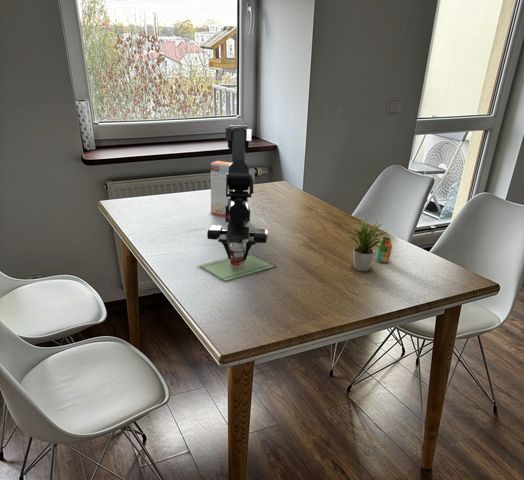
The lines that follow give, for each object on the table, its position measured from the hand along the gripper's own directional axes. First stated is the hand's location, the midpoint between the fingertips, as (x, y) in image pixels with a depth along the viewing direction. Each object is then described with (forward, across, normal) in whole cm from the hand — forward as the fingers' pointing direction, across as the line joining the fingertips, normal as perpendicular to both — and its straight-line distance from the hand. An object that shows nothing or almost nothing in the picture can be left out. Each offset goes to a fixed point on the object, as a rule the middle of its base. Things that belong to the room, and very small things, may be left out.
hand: (237, 259), depth 168 cm
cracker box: (+3, -11, +54) cm, 55 cm away
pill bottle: (+2, 0, 0) cm, 2 cm away
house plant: (+3, +41, +6) cm, 41 cm away
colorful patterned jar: (+2, +49, +15) cm, 51 cm away
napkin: (+2, 0, 0) cm, 3 cm away
